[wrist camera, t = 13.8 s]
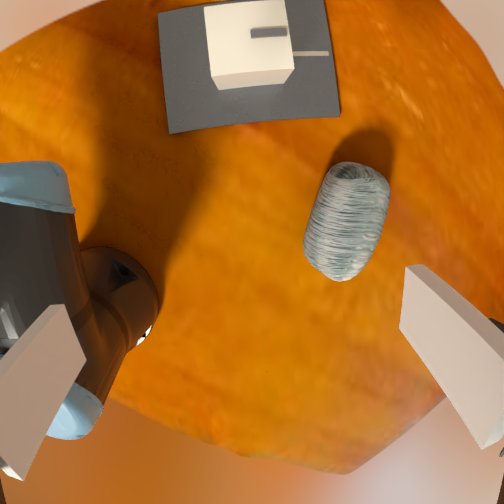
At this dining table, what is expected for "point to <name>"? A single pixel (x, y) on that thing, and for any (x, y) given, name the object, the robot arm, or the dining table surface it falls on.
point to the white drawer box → (248, 43)
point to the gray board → (254, 97)
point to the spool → (346, 220)
